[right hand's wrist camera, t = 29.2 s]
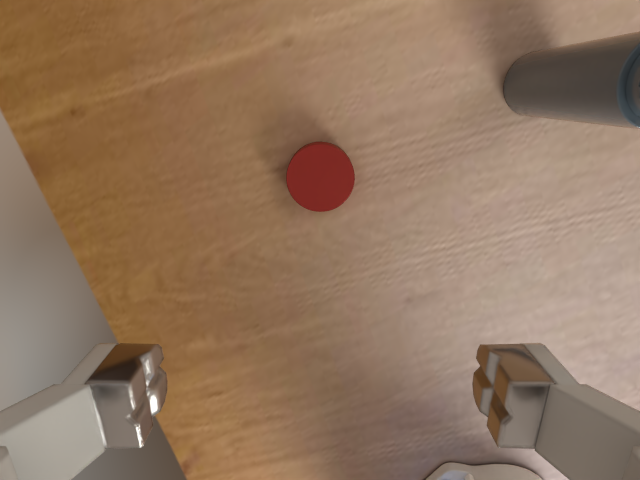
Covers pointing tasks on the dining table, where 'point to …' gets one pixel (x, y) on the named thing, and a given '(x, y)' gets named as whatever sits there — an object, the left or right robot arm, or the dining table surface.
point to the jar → (580, 82)
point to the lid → (320, 176)
